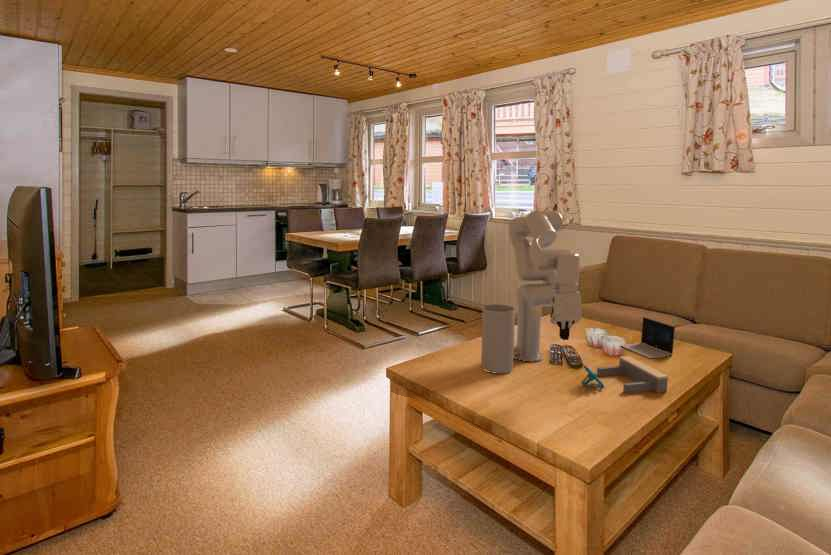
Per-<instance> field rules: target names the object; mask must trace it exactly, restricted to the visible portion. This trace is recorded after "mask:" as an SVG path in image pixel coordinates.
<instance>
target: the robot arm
mask: <svg viewBox="0 0 831 555" xmlns="http://www.w3.org/2000/svg"><path fill="white" fill-rule="evenodd" d="M563 225H564V220H563V216H562V215H561V213H560V212H559V211H557V210H534V211H530V212H529V213H528V214H527V215H526V216H519V217H515V218H512V219H511V220H510V221H509V224H508V236H509V241H510V243H511V245H512V248H513V252H514V257H515V258H514V259H515V266H516V273H517V277H518V279H519V281H521V282H524V283H525V282H526V283H527V284H523V285H520V286H518V287H517V289H516V293H515V296H516V298H515V299H516V303H517V328H516V329H517V330H516V332H517V333H516V345H514V354H513V356H514V357H515V358H517V359H520V360H525V361H537V362H540V361H542V360H543V359H544V355H543V354H542V353H541V352H540V346H541V327H542V324H541V323H542V318H541V314H540V313H539V311H538V310H537V309H536V308H539V307H540V308H541V307H542V308H543V307H544V308H545V307H547V308H548V307H550V311H549V312H550V313H549V316H550V320H549V321H550V323H551V324H552V325H557V326H558V328H559V338H560V339H561V340H563V341H569V339H570V338H569V337H570V330H571V329H572V327H573V325H575V324H577V323H579V322H580V320H581V319H582V318H583V313H582V312H583V307H582V306H583V305H582V304H583V303H582V295H581V292H580V291H579V278H580V258H581V257H580V254H579V253H577V252H573V251H572V250H570V249H566V248H565V249H563V248H561V249H547V248H548V247H550V246H552V245H554V243H555V242H556V240H557V237H558V236H557V233H558V232H560V231H561V230H562V229H563ZM527 238H533V239H532V241H530V240H528V239H527ZM529 282H530V283H529ZM531 282H532V283H531ZM533 282H542V283H533ZM514 357H513V358H514ZM515 358H514V359H515ZM517 359H516V360H517ZM520 360H519V361H520ZM539 360H540V361H539Z"/></svg>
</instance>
